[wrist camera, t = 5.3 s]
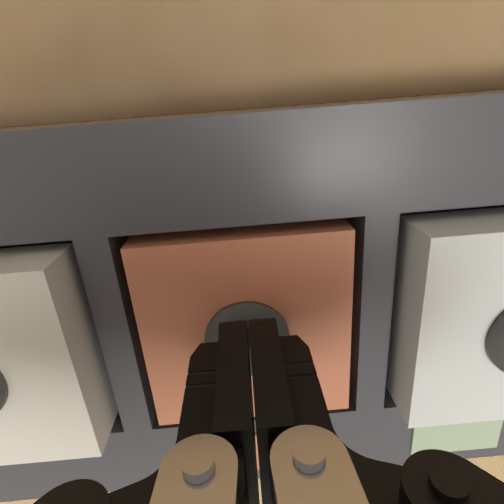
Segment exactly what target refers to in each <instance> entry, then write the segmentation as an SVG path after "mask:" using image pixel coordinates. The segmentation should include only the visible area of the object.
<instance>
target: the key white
mask: <svg viewBox="0 0 504 504" xmlns="http://www.w3.org/2000/svg"><path fill="white" fill-rule="evenodd" d="M386 387H387V389H388V391H389V393H390V395H391V397H392V399H393V401H394V402H395V404H396V406H397V408H398V410H399V412H400V414H401V416H402V418H403V420H404V421H405V423H406V425H407V427H408V428H418V427H429V426H440V425H451V424H462V423H473V422H484V421H494V420H504V207H497V208H485V209H473V210H461V211H449V212H437V213H424V214H412V215H400V223H399V234H398V246H397V258H396V269H395V281H394V293H393V305H392V316H391V328H390V340H389V352H388V363H387V375H386Z"/></svg>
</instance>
